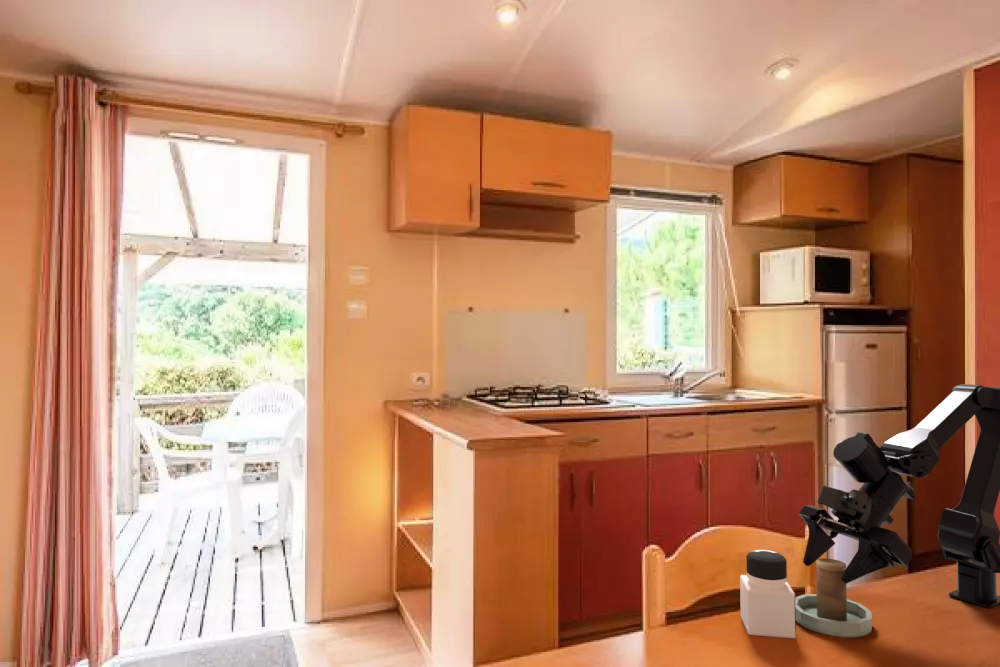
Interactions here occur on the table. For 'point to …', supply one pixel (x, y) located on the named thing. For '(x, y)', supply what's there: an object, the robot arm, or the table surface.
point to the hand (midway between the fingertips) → (823, 572)
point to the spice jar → (831, 589)
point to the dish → (853, 627)
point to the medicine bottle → (767, 596)
